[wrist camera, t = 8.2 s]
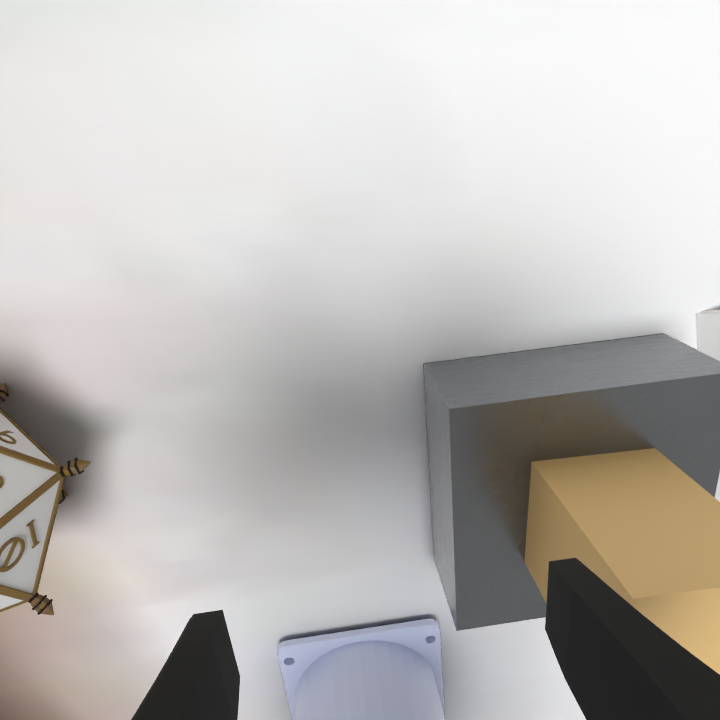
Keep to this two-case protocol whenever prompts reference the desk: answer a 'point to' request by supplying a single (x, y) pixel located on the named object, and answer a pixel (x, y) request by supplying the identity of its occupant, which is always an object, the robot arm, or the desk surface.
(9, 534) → the game die
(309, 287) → the desk surface
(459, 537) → the charcoal stand
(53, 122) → the desk surface
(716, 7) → the desk surface
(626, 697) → the robot arm
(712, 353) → the grey v-shaped trough
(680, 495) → the ochre block
